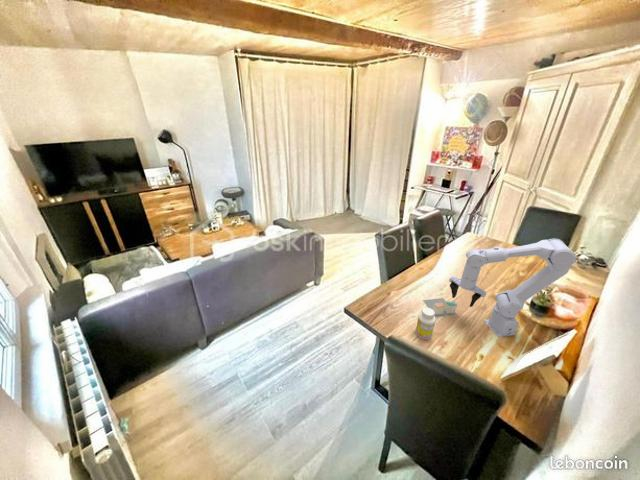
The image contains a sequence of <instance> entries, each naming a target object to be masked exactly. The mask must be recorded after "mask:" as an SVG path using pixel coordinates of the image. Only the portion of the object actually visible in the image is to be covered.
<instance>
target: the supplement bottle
mask: <svg viewBox="0 0 640 480" xmlns="http://www.w3.org/2000/svg"><path fill="white" fill-rule="evenodd" d="M434 314H435V312H434V310H432V309H431V308H428V307H423V308H422V310H421V312H420V313H419V314H418V317H417V318H418V319H417V322H416V328H415V334H416V335H417V336H418V337H419V338H420V339H423V340H429V339H431V338H432V337H433V333H434V330H435V324H436V321H437V317H435V316H434Z"/></svg>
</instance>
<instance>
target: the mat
mask: <svg viewBox="0 0 640 480" xmlns="http://www.w3.org/2000/svg"><path fill="white" fill-rule="evenodd" d="M422 301H423V303H424V304H425V306H426V308H431V309H432V310H433V307H434V303H443V304H444V305H446V302H447V300H446V299H445V298H443V297H442V298H441V297H439V298H431V299H423V300H422ZM434 316H435V318H442V317H449V316H451V317H452V316H458V313H457V312H456V311H455V313H449V314H447V313H446V312H445V311H444V312H443V314H441V315H435V314H434Z"/></svg>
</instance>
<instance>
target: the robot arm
mask: <svg viewBox="0 0 640 480" xmlns="http://www.w3.org/2000/svg"><path fill="white" fill-rule="evenodd" d="M465 256H466V262H465V264H464V267H463V271H462V275H461V278H457V277H454V276H450V278H449V280H448V282H449V283H450V284H449V288H450V289H451V290H450V291H451V297H452V299H455V298H456V297H457V294H458V290H459V287H460V288H461V289H463V290H466V291H469V292H471V293H472V292H473V294H472V295H471V301H470V302H469V303H470V304H469V308H473V306H474V304H475V303H476V302H477V301H478V300H479V299H481V298H485V297H487V296H486V295H487V291H485V290H483V289H482V288H481V287H479V286H478V285H477V282H478V279H479V275H480V272H481V268H482V267H484V265H487V264H492V263H493V264H494V263H501V262H506V261H507V260H509V259H510V258H519V257H520V258H521V257H531V256H533V257H535V256H536V257H538V258H541V259H542V260H545V261H546V263H547V265H546V266H544V267H543V268H542V269H540V270H539V271H538V272H537V273H535V274H533V275H532V276H531V277H529V278H528V279H526V280H525V281H524V282H522V283H520V284H519V285H518V286H517V287H515V288H514V289H506V290H504V291H502V292H499V293H497V294H496V295H495V297H494V300H495V302H496V303H495V305H494V306H493V308H492V311H491V314H490V317H489V318H488V319H487V318H486V319H483V322H484V324H485V325H487V327H488V328H489V329H491V330H492V331H493V333H495V335H496V336H497V337H498V338H499V337H507V336H515V335H516V334H517V333H516V331H517V329H518V327H519V321H518V320H517V319H516V317H517V316H518V314H519V312H520V311H521V310H523V308H524V305H525V302H526V301H528V300H529V299H530V298H532V297H534V296H536V295H537V294H538V293H540V292H541V291H543V290H544V289H545V288H547V287H549V286H550V285H551V284H554V283H555V282H556V281H558V280H559V279H562V277H564V276H565V275H566V274H568V273H569V271H570V270H571V267H572V266H573V264H575V263H576V262H577V259H576V254H575V252H574V251H572V249H570V248H569V247H568V246H567V245H566V243H565V242H564V241H563V240H562V239H559V238H549V239H542V240H539V241H538V242H532V243H528V244H525V245H519V246H514V247H508V248H504V247H503V246H497V245H496V246H493V247H491V248H485V249H484V248H481V249H477V248H473V249H470V250H468V252H466V253H465Z"/></svg>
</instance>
